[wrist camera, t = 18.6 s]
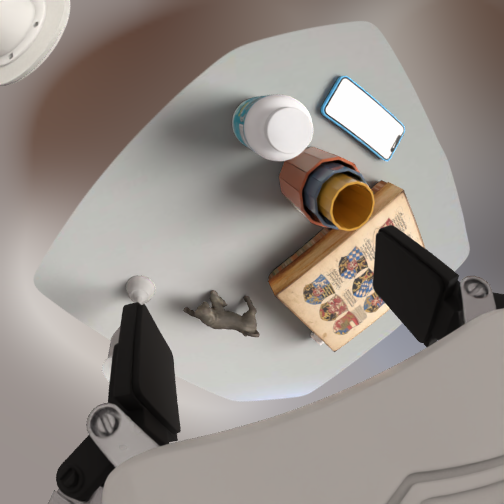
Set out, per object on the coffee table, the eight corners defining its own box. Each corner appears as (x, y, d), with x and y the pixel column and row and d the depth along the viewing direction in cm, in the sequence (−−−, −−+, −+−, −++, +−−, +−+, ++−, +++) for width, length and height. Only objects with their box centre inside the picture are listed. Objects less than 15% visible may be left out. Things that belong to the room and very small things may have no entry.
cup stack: (275, 153, 40) (303, 169, 31) (333, 143, 41) (373, 156, 32) (284, 212, 44) (311, 243, 35) (337, 199, 45) (374, 225, 36)
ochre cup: (289, 164, 40) (328, 187, 29) (327, 157, 40) (374, 177, 30) (294, 202, 43) (331, 236, 32) (331, 194, 43) (374, 224, 33)
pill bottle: (272, 89, 35) (313, 83, 23) (290, 137, 39) (335, 152, 27) (221, 108, 35) (241, 108, 23) (242, 156, 39) (269, 179, 27)
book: (321, 341, 62) (416, 263, 57) (332, 362, 56) (434, 279, 52) (255, 280, 50) (380, 178, 45) (265, 303, 44) (403, 189, 40)
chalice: (112, 279, 43) (90, 363, 27) (147, 263, 43) (135, 348, 28) (135, 311, 47) (126, 396, 31) (168, 297, 47) (170, 384, 31)
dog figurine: (257, 297, 51) (269, 325, 45) (244, 321, 53) (253, 350, 47) (193, 280, 46) (196, 309, 40) (182, 307, 48) (184, 337, 42)
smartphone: (343, 73, 35) (406, 128, 40) (339, 73, 36) (402, 127, 41) (320, 112, 37) (387, 163, 43) (317, 112, 38) (383, 161, 44)
